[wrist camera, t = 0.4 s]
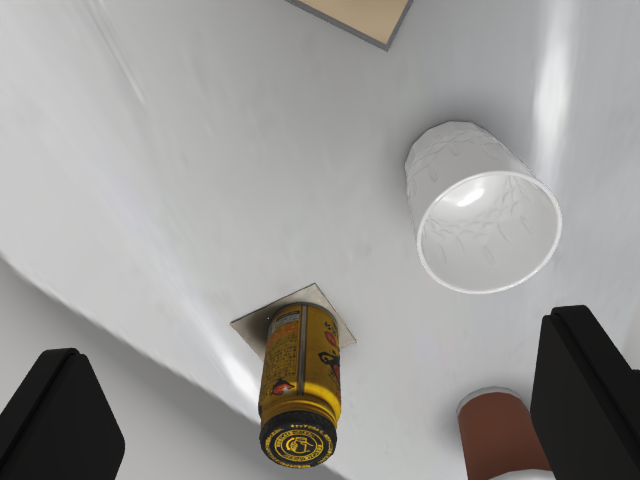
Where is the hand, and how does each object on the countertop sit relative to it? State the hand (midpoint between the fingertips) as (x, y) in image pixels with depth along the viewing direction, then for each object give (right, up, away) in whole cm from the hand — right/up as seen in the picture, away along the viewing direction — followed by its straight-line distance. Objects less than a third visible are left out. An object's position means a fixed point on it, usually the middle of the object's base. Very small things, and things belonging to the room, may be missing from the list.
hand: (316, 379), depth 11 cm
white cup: (+9, +8, +27) cm, 29 cm away
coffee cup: (+16, -13, +40) cm, 45 cm away
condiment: (-2, -5, +35) cm, 35 cm away
